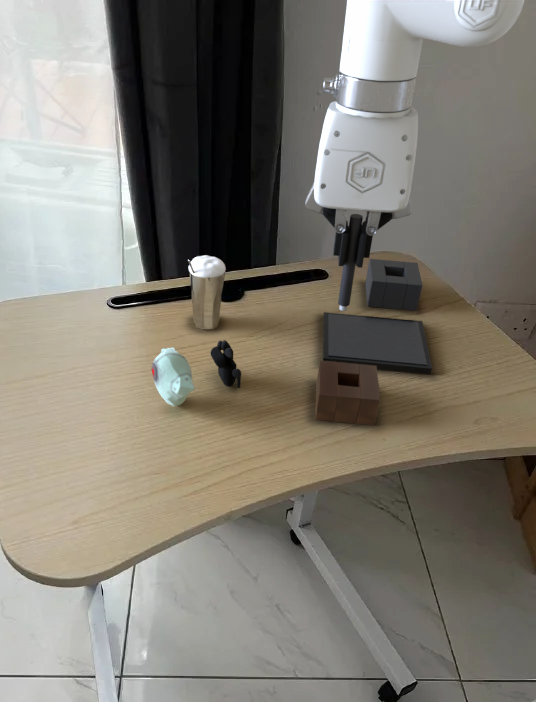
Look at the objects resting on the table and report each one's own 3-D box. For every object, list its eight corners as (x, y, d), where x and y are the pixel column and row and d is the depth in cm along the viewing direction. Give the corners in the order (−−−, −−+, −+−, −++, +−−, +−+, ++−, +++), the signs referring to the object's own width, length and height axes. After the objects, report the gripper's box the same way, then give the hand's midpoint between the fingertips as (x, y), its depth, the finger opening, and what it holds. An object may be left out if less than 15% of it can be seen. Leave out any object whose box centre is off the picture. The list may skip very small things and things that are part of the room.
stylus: (348, 307, 82) (362, 214, 74) (348, 312, 81) (363, 219, 73) (337, 306, 82) (350, 213, 74) (337, 311, 81) (350, 218, 73)
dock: (411, 287, 96) (417, 262, 94) (416, 311, 91) (422, 285, 89) (365, 283, 97) (369, 258, 94) (367, 306, 91) (372, 280, 89)
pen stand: (371, 390, 76) (376, 365, 74) (374, 425, 71) (380, 400, 69) (316, 384, 77) (319, 360, 74) (315, 419, 72) (319, 394, 69)
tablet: (420, 326, 88) (422, 320, 87) (430, 374, 79) (432, 367, 79) (323, 317, 89) (323, 311, 88) (322, 364, 80) (323, 357, 79)
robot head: (201, 422, 70) (201, 371, 66) (163, 430, 69) (162, 378, 65) (179, 380, 76) (179, 330, 72) (145, 386, 75) (142, 336, 71)
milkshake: (176, 324, 86) (175, 253, 79) (206, 310, 89) (208, 241, 83) (200, 339, 83) (201, 267, 77) (230, 324, 86) (233, 253, 80)
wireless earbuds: (243, 397, 74) (245, 360, 71) (222, 401, 73) (223, 364, 70) (223, 363, 79) (224, 327, 76) (203, 366, 79) (203, 330, 75)
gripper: (295, 98, 64) (281, 271, 75) (459, 107, 62) (420, 282, 74) (298, 80, 69) (285, 243, 81) (448, 88, 68) (413, 252, 80)
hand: (350, 260), depth 77 cm, fingers closed on stylus, 1 cm apart
